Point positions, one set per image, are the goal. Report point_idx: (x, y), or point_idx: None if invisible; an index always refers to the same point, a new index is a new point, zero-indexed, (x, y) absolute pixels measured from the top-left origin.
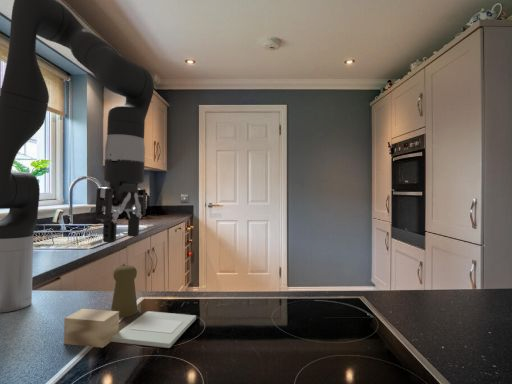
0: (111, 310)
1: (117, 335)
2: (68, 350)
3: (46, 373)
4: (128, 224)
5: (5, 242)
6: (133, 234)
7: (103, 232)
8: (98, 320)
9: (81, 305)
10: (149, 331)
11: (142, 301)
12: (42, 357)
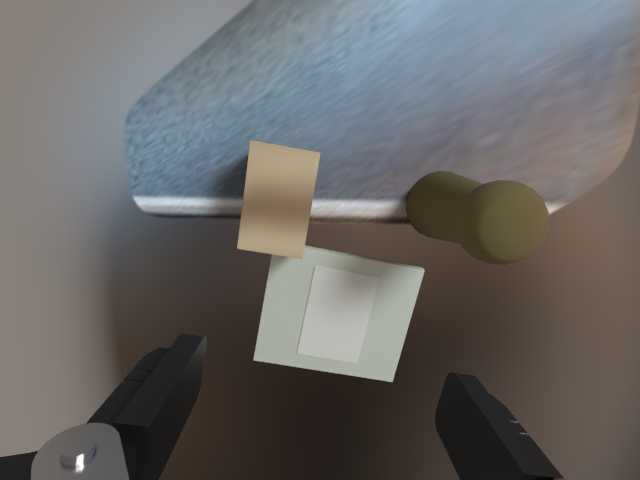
0: (427, 179)
1: None
2: (232, 171)
3: (147, 179)
4: (494, 431)
5: None
6: (445, 409)
7: (127, 377)
8: (240, 234)
9: (504, 56)
10: (305, 309)
11: None
12: (200, 134)
